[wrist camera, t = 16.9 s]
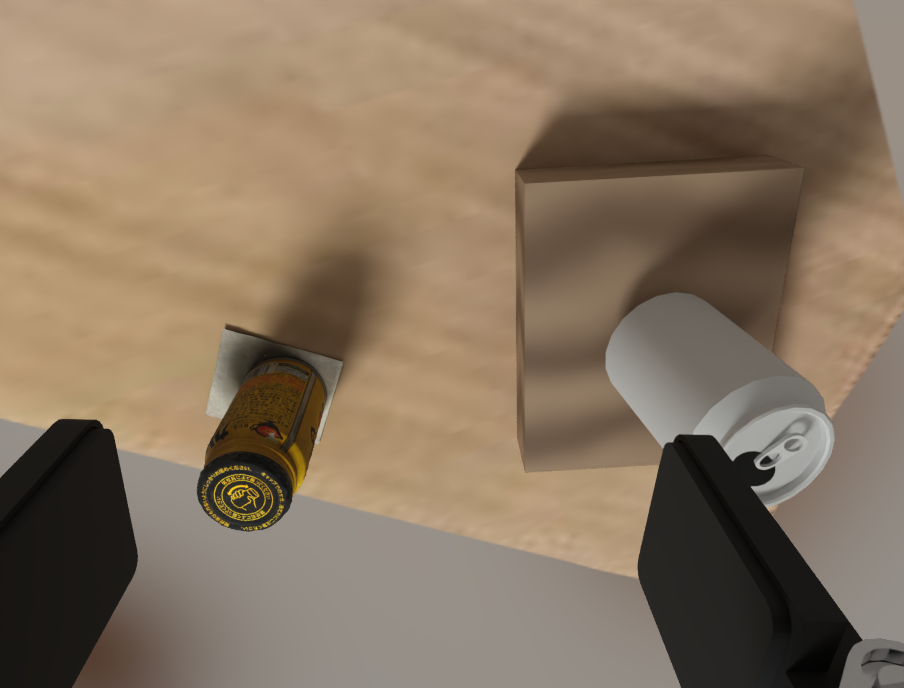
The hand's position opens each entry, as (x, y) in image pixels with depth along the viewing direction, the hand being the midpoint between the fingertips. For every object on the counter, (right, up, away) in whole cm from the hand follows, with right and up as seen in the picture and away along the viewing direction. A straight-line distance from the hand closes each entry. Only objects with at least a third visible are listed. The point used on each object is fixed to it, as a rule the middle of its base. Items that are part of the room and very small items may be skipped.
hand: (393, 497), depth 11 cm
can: (+14, +3, +29) cm, 33 cm away
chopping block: (+13, +5, +34) cm, 37 cm away
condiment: (-12, 0, +36) cm, 38 cm away
